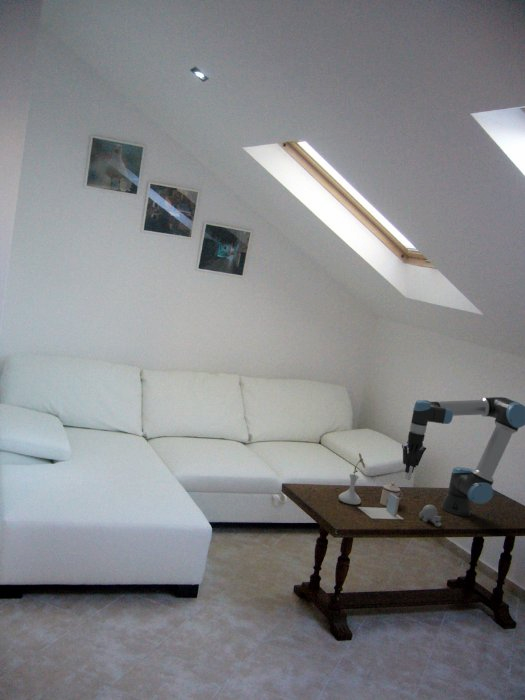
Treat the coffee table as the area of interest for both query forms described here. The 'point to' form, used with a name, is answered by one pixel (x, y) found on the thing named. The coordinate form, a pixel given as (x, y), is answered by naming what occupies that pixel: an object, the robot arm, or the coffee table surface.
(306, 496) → the coffee table surface
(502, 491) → the coffee table surface
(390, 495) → the tile
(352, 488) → the flower in vase
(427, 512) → the chubby cartoon animal
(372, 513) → the mat
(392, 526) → the coffee table surface
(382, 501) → the teacup with lid
